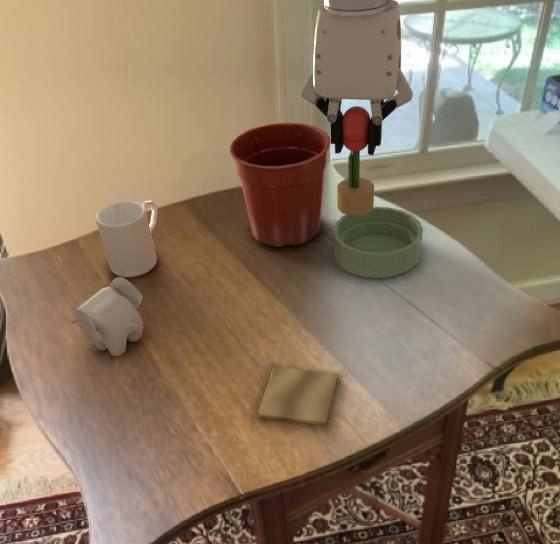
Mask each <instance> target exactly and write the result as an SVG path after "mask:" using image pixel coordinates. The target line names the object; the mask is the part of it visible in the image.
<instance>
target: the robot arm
mask: <svg viewBox="0 0 560 544" xmlns="http://www.w3.org/2000/svg"><path fill="white" fill-rule="evenodd" d="M399 6H400V5H399V2H398V1H397V0H323V1H322V2H320V4H319V5H318V8H317V15H316V21H315V31H314V42H313V43H314V44H313V45H314V46H313V65H312V67H313V69H312V73H311V75H310V76H309V78H308V80H307V82H306V84H305V86H304V88H303V89H302V91H301V97H302V98H303V99H304V100H306V101H308V102H309V103H311V104H312V105H314V106H315V107H316V109H318V110H319V111H320V112H321V113H322V114H323V115H324V116H325V118H326V120H327V122H328V123H329V124H330V126H329V128H330V130H329V131H330V135H329V136H330V145H334V154H338V155H339V154H340V153H342V151H343V148H344V147H345V145H344V144H343V141H342V118H343V115H344V113H343V112H342V111H341V109H342V102H343V100H355V101H356V100H359V101H361V100H362V101H369V105H370V113H371V116H370V119H371V120H370V123H369V126H368V145H367V155H369V156H374V154H375V152H376V148H377V147H381V144H382V137H383V135H382V133H383V121H384V120H385V119H386V118H388V116H390V115H391V114H392V113H393V112H394V111H395V110H396V109H397V108H400V107H402V106H404V105H405V104H407V103H409V102H411V101H412V99H413V95H414V91H413V90H412V88H411V85H410V84H409V83H408V80H407V78H406V77H405V74H404V73H403V71H402V24H401V23H402V22H401V12H400V7H399Z"/></svg>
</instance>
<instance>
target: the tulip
mask: <svg viewBox="0 0 560 544" xmlns="http://www.w3.org/2000/svg"><path fill="white" fill-rule="evenodd" d="M370 120H371V115H370V113H369V112H368V110H367V109H366V108H365V107H363V106H360V105H353V106H351V107H349V108H348V109H347V110H345V112H343V118H342V141H343V144H344V147H345V148H346V149H347V150H349V155H348V161H347V162H348V163H347V164H348V175H347V176H348V177H347V178H346V179H343V180H342V181H340V182H338V184H337V186H336V200H337V201H336V207H337V210H338V211H339V212H340V213H342V214H343V215H352V216H357V215H363V214H366V213H368V212H370V211H371V210H372V209H373V207H375V206H374V205H375V203H374V201H375V184H374V183H373V182H372V181H371V180H370V179H367V178H362V177H360V170H361V169H360V168H361V167H360V165H361V164H360V163H361V151H363V150H364V149H365V148H367V147H368V126H369V123H370Z"/></svg>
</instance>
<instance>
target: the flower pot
mask: <svg viewBox="0 0 560 544" xmlns="http://www.w3.org/2000/svg"><path fill="white" fill-rule="evenodd" d="M330 145H331V136H330V135H329V134H328V133H327V132H326V131H325V130H324V129H322V128H320V127H317V126H314V125H312V124H306V123H301V122H275V123H269V124H262V125H257V126H255V127H252V128H249V129H247V130H245V131H243V132H242V133H239V134H238V135H237V136H236V137H234V138H233V140H231V142H230V144H229V147H228V151H229V154H230V156H231V158H232V159H233V162H234V165H235V170H236V174H237V175H238V177H239V180H240V184H241V188H242V193H243V196H244V201H245V206H246V210H247V215H248V219H249V224H250V228H251V229H250V230H251V233H252V236H253V238H254V239H255V240H257V242H259V243H261V244H263V245H265V246H268V247H274V248H283V247H284V246H292V247H296V246H300V245H303V244H305V243H307V242H309V241H311V240H313V239H314V238H315V237H316V236H317V235H318V233H319V231H320V229H321V217H322V200H323V198H322V197H323V183H324V171H325V168H326V166H327V165H326V164H327V154H328V152H329V149H330V147H331V146H330Z"/></svg>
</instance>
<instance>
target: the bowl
mask: <svg viewBox="0 0 560 544" xmlns="http://www.w3.org/2000/svg"><path fill="white" fill-rule="evenodd" d="M423 231H424V229H423V225H422V223H421V222H420V220H418V219H417V218H416V217H415V216H414V215H412V214H410V213H409V212H406V211H404V210H403V209H398V208H393V207H386V206H373V209H372V210H371V211H370V212H368V213H366V214H363V215H357V216H352V215H346V214H343V215H342V216H341V217H340V218H339V219H338V220H337V221H336V222H335V224H334V227H333V230H332V233H333V235H332V240H333V244H332V245H333V246H332V247H333V248H332V249H333V257H334V260H335V262H336V263H337V264H338V265H339V266H340V268H342V269H343V270H345V271H346V272H348V273H350V274H352V275H356V276H360V277H364V278H374V279H382V278H391V277H396V276H398V275H401V274H405V273H407V272H408V271H410V270H412V269H413V268H414V267H415V266H416V265H417V264H418V263H419V261H420V259H421V253H422V243H423Z"/></svg>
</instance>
